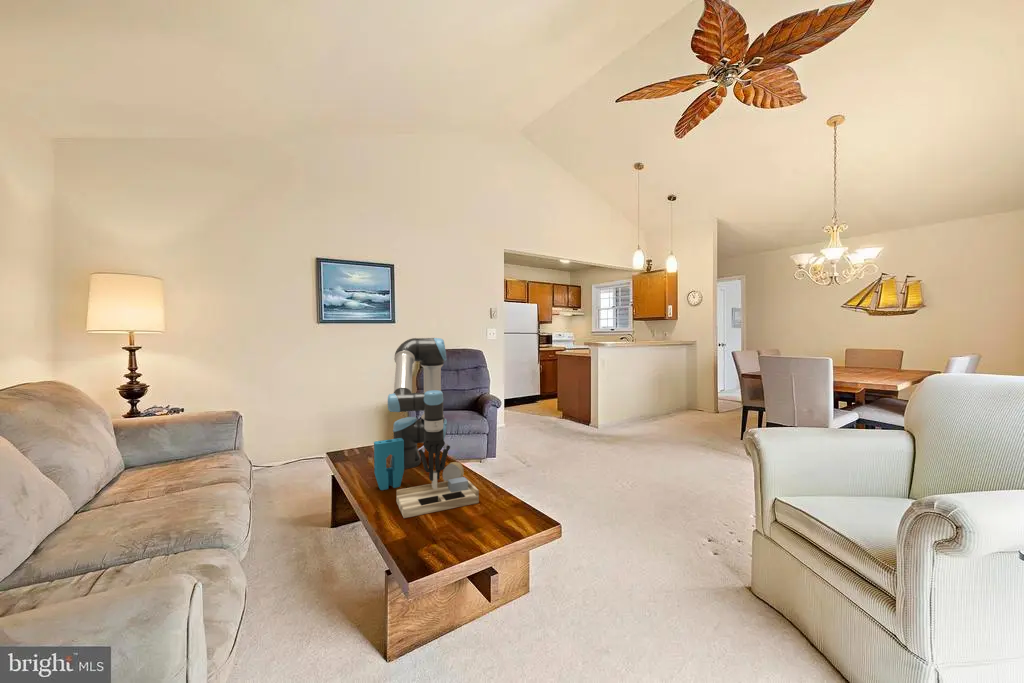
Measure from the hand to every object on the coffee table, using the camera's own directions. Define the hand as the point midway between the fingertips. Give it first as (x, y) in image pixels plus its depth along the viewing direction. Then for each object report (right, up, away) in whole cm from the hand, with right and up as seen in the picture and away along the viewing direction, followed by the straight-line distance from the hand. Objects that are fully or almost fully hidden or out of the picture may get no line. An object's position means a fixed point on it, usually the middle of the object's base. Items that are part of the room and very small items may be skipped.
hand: (434, 487), depth 158 cm
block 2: (-22, -5, +14) cm, 27 cm away
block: (+9, -2, +3) cm, 10 cm away
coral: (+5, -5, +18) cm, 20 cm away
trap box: (+2, -5, -3) cm, 6 cm away
